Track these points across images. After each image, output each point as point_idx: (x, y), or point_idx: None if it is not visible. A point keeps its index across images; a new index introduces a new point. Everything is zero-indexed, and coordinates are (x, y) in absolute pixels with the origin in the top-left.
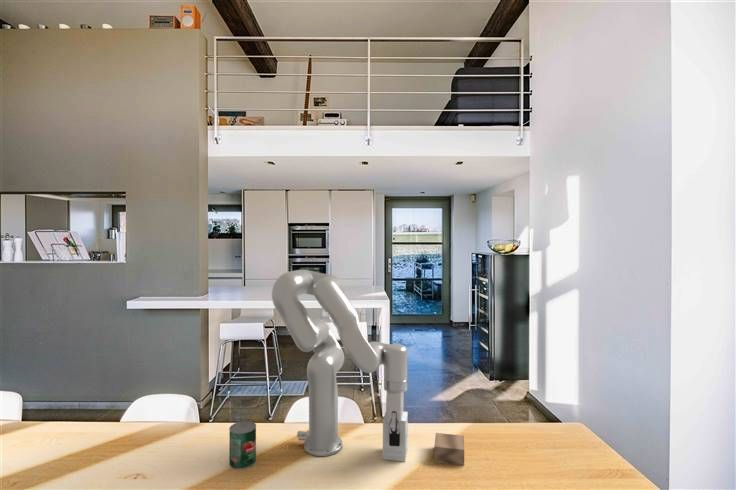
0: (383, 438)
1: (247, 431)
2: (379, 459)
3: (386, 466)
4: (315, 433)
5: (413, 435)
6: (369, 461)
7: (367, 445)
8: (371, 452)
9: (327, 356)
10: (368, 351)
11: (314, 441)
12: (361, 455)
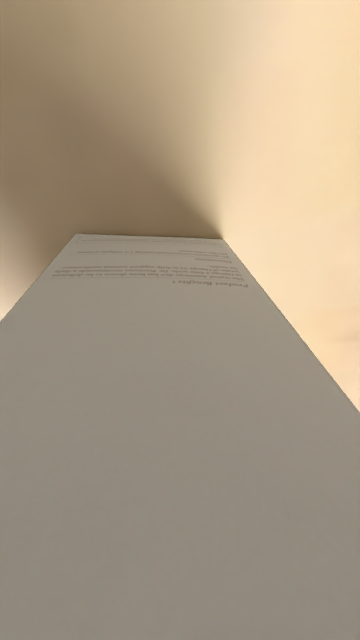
0: (13, 314)
1: None
2: (67, 209)
3: (3, 266)
4: None
5: (348, 362)
6: (5, 124)
7: (264, 61)
8: (149, 125)
9: None
10: None
11: None
12: (73, 8)
